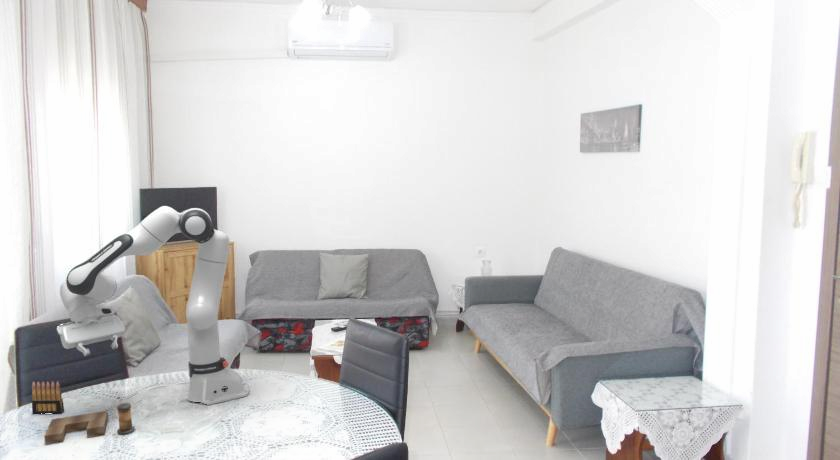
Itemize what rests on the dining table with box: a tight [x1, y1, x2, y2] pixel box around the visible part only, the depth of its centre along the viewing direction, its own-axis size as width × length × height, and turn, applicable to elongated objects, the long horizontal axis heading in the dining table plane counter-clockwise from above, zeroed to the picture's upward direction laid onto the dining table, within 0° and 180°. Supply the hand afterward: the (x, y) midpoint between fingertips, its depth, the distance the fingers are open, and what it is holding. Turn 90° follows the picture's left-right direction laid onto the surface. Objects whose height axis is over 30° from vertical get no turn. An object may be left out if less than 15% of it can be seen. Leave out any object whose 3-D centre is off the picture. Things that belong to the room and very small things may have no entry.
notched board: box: [44, 410, 109, 446], centre depth 210 cm, size 17×14×3 cm
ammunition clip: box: [31, 380, 65, 415], centre depth 225 cm, size 11×2×12 cm, turn 88°
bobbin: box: [116, 402, 136, 436], centre depth 208 cm, size 5×5×9 cm
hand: (101, 351), depth 214 cm, fingers open, 8 cm apart
